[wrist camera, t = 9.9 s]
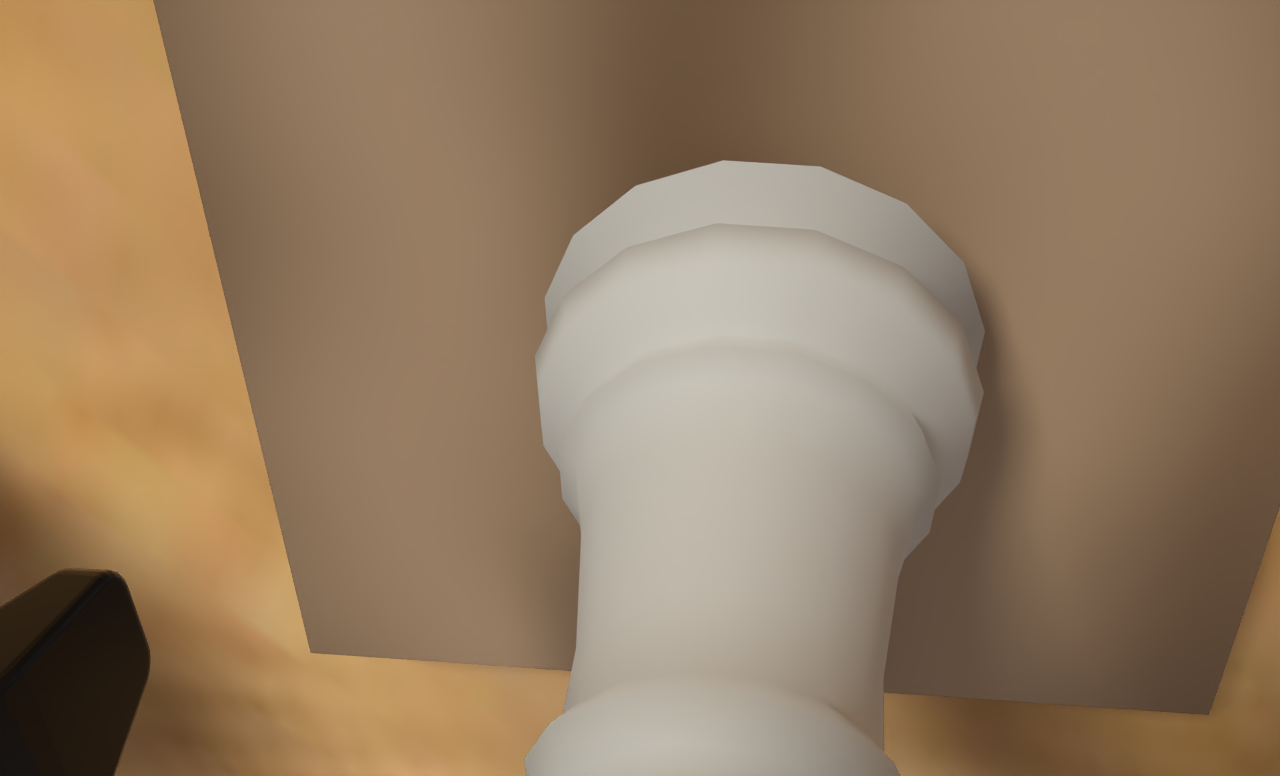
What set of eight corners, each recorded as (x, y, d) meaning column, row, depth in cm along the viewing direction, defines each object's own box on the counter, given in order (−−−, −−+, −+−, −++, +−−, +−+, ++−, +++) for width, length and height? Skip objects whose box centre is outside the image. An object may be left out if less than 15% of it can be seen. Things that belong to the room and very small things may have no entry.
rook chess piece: (1051, 383, 13) (1201, 1304, 7) (697, 507, 15) (592, 1298, 9) (851, 48, 11) (836, 1000, 5) (466, 247, 13) (139, 1082, 7)
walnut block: (1440, -394, 11) (1583, -386, 9) (1163, 582, 18) (1208, 714, 16) (190, -365, 13) (68, -352, 10) (364, 535, 19) (310, 652, 17)
